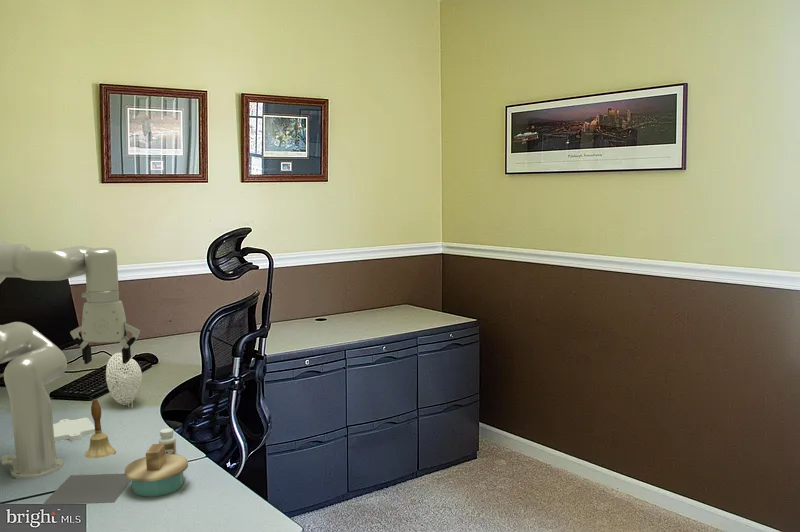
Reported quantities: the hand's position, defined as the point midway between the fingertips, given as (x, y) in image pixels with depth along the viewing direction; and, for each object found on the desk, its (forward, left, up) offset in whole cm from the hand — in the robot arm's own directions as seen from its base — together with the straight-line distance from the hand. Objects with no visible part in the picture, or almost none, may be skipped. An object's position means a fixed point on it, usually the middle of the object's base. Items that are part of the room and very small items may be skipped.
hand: (107, 362), depth 193 cm
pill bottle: (+11, +10, -30) cm, 34 cm away
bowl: (+14, -10, -30) cm, 34 cm away
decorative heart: (-16, +58, -30) cm, 68 cm away
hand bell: (-9, +14, -30) cm, 35 cm away
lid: (+14, -10, -25) cm, 30 cm away
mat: (-3, -10, -30) cm, 32 cm away
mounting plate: (-25, +33, -31) cm, 52 cm away
